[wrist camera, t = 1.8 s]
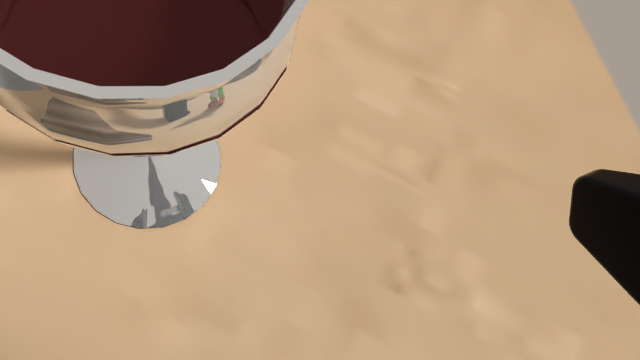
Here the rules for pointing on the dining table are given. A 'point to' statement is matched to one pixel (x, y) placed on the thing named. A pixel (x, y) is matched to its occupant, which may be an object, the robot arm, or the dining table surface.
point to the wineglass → (143, 90)
